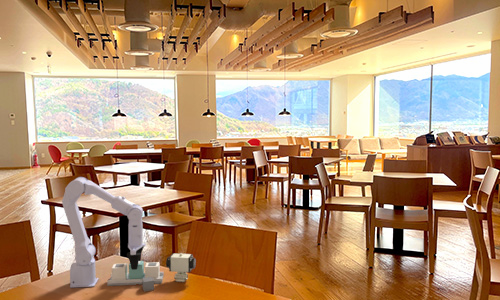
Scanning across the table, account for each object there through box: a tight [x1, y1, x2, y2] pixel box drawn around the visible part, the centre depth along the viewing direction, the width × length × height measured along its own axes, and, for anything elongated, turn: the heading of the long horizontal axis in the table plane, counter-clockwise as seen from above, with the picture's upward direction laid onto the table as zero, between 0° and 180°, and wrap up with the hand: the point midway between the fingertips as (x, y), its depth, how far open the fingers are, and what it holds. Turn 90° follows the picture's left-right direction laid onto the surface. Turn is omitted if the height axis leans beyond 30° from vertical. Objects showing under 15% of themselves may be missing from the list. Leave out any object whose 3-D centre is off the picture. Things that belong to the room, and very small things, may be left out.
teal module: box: [128, 260, 145, 279], centre depth 169 cm, size 6×4×7 cm
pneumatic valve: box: [165, 252, 197, 283], centre depth 169 cm, size 6×12×12 cm, turn 84°
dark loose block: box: [141, 277, 155, 292], centre depth 161 cm, size 4×4×4 cm
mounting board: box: [106, 261, 165, 287], centre depth 170 cm, size 22×10×7 cm, turn 98°
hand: (135, 265), depth 169 cm, fingers open, 7 cm apart
